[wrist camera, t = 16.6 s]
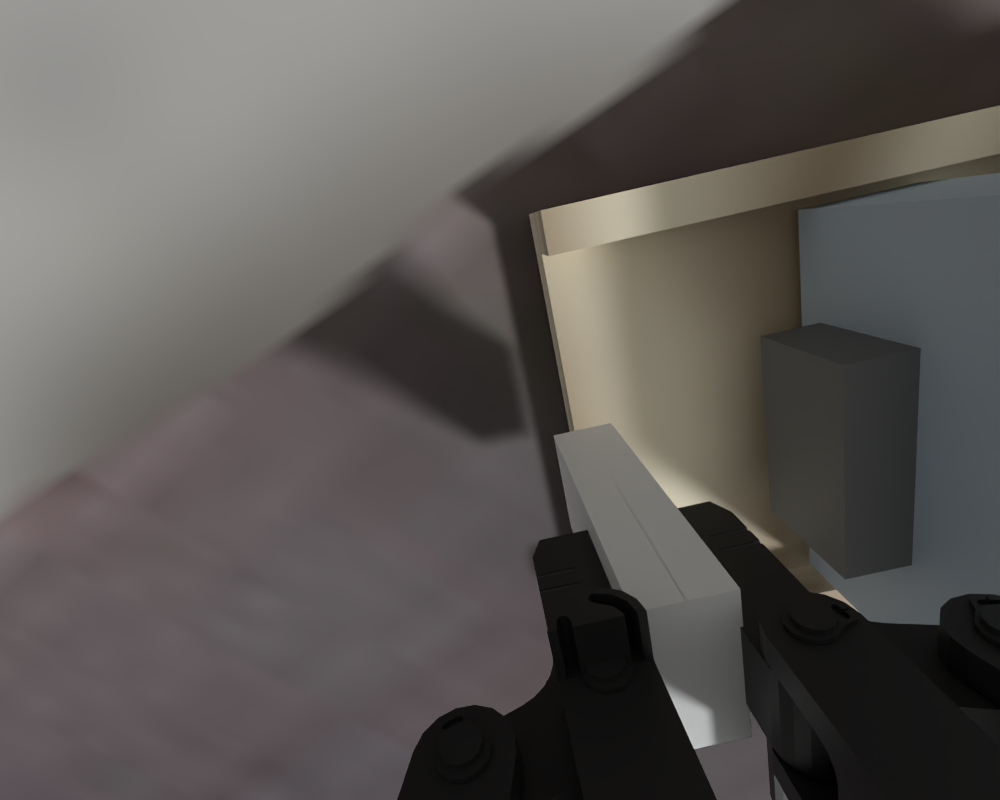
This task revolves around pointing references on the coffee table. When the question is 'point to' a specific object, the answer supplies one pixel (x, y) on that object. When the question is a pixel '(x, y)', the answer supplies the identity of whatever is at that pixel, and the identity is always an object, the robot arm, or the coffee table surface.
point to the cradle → (713, 305)
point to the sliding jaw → (893, 397)
